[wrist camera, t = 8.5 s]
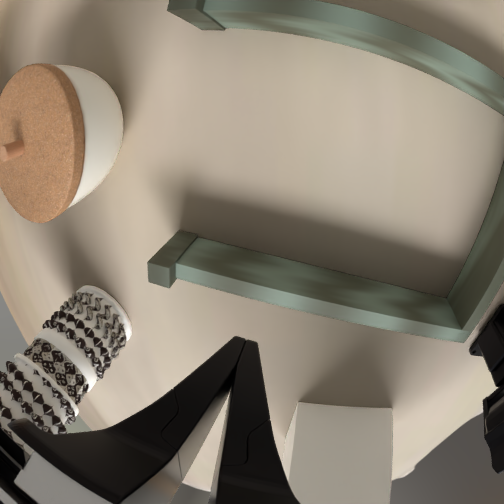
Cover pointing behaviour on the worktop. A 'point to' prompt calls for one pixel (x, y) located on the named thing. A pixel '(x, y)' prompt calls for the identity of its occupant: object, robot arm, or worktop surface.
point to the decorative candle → (63, 362)
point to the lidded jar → (56, 138)
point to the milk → (339, 454)
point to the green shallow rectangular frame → (324, 280)
